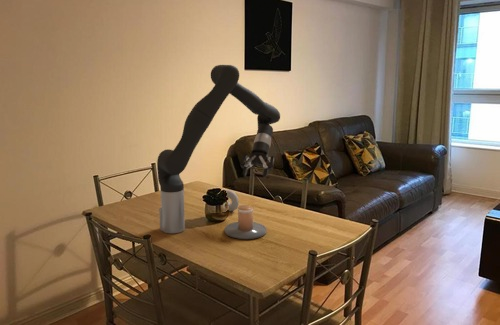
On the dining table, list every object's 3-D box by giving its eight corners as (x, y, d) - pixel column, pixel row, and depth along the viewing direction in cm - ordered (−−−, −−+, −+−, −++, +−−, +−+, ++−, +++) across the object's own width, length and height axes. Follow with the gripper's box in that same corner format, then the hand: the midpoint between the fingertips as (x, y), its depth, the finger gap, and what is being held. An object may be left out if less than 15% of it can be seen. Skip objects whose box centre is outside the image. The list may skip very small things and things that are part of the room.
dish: (218, 237, 165) (218, 233, 165) (232, 222, 181) (232, 219, 181) (259, 242, 160) (259, 238, 160) (270, 227, 176) (270, 224, 176)
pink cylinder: (236, 230, 169) (236, 209, 167) (240, 225, 174) (240, 204, 172) (250, 232, 167) (250, 210, 165) (254, 226, 173) (254, 206, 171)
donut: (219, 209, 198) (219, 189, 196) (224, 207, 201) (224, 187, 199) (235, 214, 192) (235, 193, 190) (240, 212, 195) (240, 191, 193)
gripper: (244, 139, 184) (236, 170, 176) (276, 141, 180) (268, 173, 172) (248, 149, 190) (240, 179, 182) (278, 151, 186) (271, 182, 178)
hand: (254, 176), depth 177 cm, fingers open, 8 cm apart
